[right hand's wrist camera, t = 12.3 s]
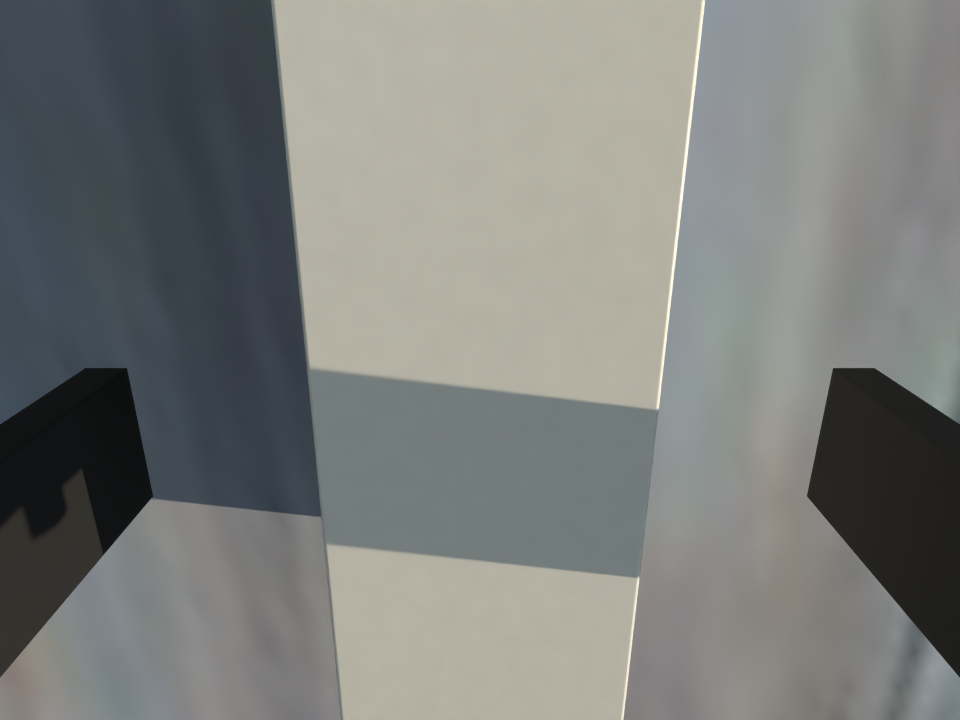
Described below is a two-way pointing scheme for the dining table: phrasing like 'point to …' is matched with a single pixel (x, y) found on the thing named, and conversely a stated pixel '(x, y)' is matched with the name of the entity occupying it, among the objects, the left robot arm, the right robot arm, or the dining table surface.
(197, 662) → the dining table surface
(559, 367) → the beam
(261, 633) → the dining table surface
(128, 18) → the dining table surface
